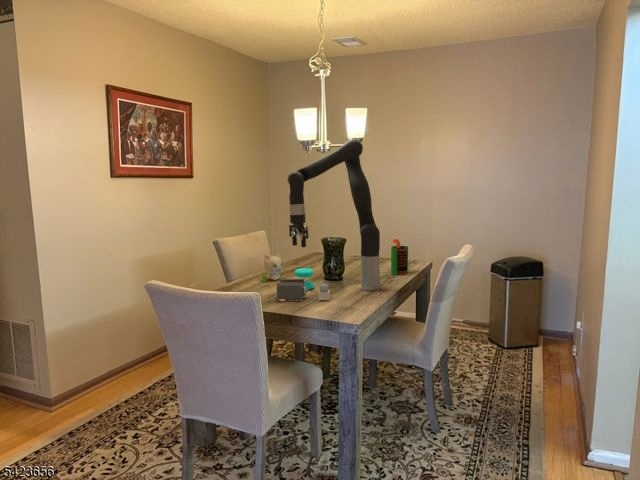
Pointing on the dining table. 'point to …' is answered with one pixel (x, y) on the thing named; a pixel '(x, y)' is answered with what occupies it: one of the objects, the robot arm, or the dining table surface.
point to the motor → (399, 259)
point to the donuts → (303, 274)
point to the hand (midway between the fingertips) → (299, 246)
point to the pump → (324, 292)
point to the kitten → (273, 266)
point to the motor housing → (291, 289)
